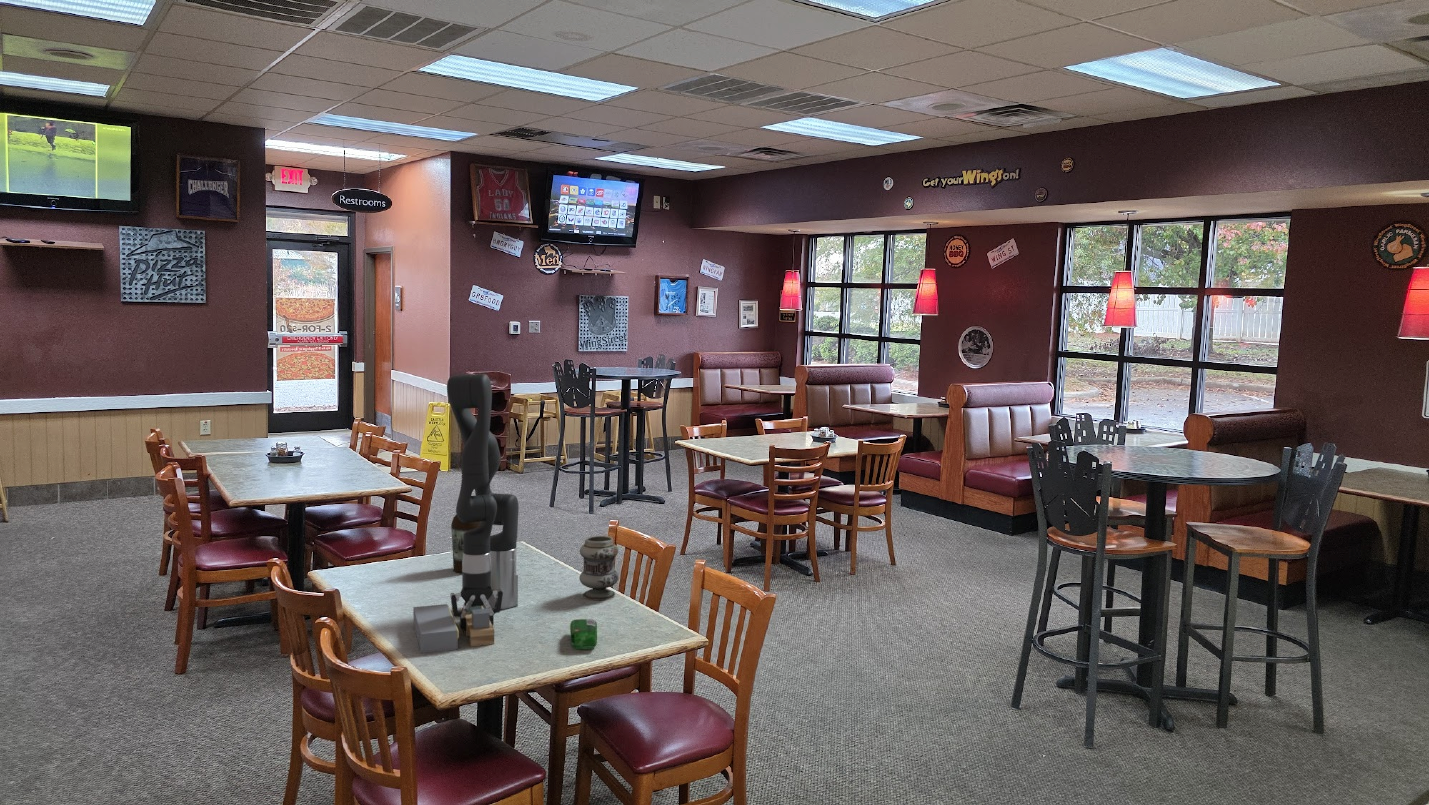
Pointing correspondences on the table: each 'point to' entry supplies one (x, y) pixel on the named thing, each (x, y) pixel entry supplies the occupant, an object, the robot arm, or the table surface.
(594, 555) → the apothecary jar
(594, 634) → the snack package
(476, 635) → the board
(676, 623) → the table surface
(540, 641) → the table surface
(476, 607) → the block
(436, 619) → the dock
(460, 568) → the olive oil
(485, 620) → the block
